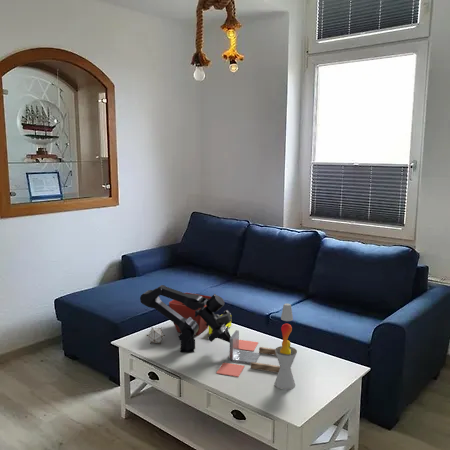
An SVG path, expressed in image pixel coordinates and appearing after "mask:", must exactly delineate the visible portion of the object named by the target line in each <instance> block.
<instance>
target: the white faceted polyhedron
mask: <svg viewBox="0 0 450 450" xmlns="http://www.w3.org/2000/svg"><path fill="white" fill-rule="evenodd" d="M146 336H147V337H148V338H149V341H150V344H153V343H155V344H159V345H161V342H162V340H163V338H164V337H166V334H164V333H163V330H162V326H161V327H159V328H157V327H155V328H154V327H153V326H151V329H150V331H149V333H148V334H146Z"/></svg>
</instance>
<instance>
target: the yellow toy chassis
mask: <svg viewBox="0 0 450 450" xmlns="http://www.w3.org/2000/svg"><path fill="white" fill-rule="evenodd" d="M221 315H222V314H221ZM221 315H220V314H219V316H221ZM228 325H229V327H228V329H229V328H230V327H232V320H231V321H230V323H228V324H227V325H226V327H227V326H228ZM211 333H212V329H211V327H210V326H208V335H210V334H211Z"/></svg>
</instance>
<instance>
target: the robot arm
mask: <svg viewBox="0 0 450 450" xmlns="http://www.w3.org/2000/svg"><path fill="white" fill-rule="evenodd" d="M186 293H187V292H183V291H179V290H177V289H174V288H171V287H169V286H166V285H165V284H161V285H159V286H158V287H156V288H155V289H148V290H147V291H145V292H144V293H142V294H140V297H139V300H140V303H141V305H144V306H146V308H151V309H154V310H156V311H157V312H159V314H161V315H162V316H164V317H165V318H166V319H168V320H169V321H171V323H173V324H174V323H175V324H176V325H177V326H178V327H179V329H180V331H181V332H180V334H179V335H178V340H179V341H180V351H179V352H180V353H195V350H196V339H195V336H196V335H195V334H196V332H197V331H198V330H199V326H198V324H197V323H196V322H197V321H195V320H193V319H192V318H191V317H189V318H188V319H186V318H183V317H182V316H181V315H179V314H178V313H177V312H175V311H174V310H173V309H171V308H170V307H169V305H168V304H166V303H165V302H163V301H162V300H161V297H160V296H162V297H165V298H168V299H171V300H176V301H179V302H182V303H183V304H185V305H186V306H187V307H188V308H190V309H192V310H196V311H195V317H197V316H198V315H200V316H201V317H202V319H203V320H204V321H205V322H206V323H207V324H206V326H208V325H209V326H210V327H211V329H212V333H211V334H208V341H210V342H211V343H212V342H213V341H215V339H219V340H222V341H224V342H227V343H229V344H230V338H231V336H232V335H231V334H230V331H229V328H230V327H229V325H228V326H227V327H226V325H227V324H228V323H230V321H231V322H232V319H233V318H232V313H231V312H230V311H229V310H228V309H226V310H224V311H223V314H221V316H220V314H219V313H217V312H218V311H219V310H221V308H222V307H224V306H225V300H224V299H223V298H222V297H221V296H220V295H217V294H216V293H213V295H211V296H210V297H211V298H210V299H208V298H204V297H202V296H200V295H201V294H198V293H192V294H186ZM197 294H198V295H197ZM205 305H206V307H204V306H205ZM198 308H200V309H199V310H197V309H198ZM209 326H208V327H209ZM228 327H229V328H228Z"/></svg>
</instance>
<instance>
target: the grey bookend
mask: <svg viewBox="0 0 450 450" xmlns="http://www.w3.org/2000/svg"><path fill="white" fill-rule="evenodd" d="M230 336H231V338H230V343H229V362H234V363H240V364H245V365H246V364H248V365H251V362H256V363H258V360H259V358H260V356H261V353H258V352H255V351H247V350H240V349H239V340H240V330H235V331H234V332H233V334H232V335H230Z"/></svg>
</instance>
